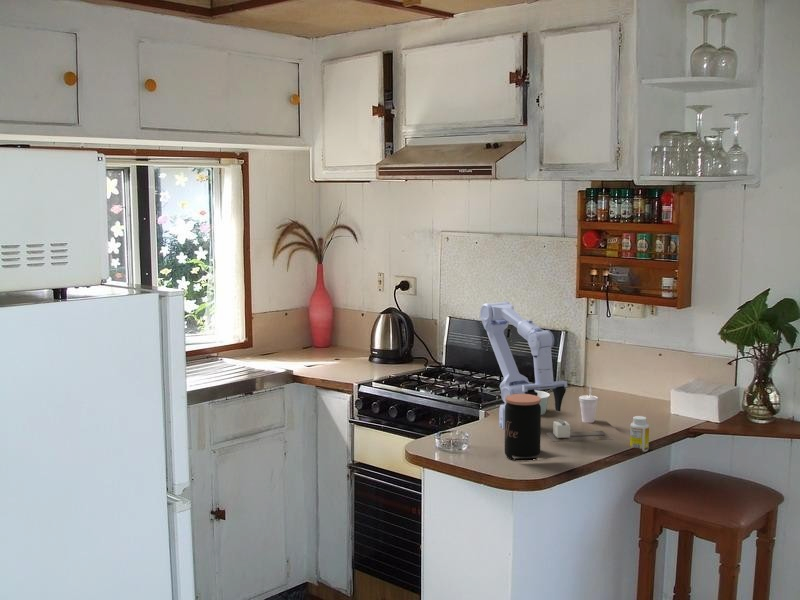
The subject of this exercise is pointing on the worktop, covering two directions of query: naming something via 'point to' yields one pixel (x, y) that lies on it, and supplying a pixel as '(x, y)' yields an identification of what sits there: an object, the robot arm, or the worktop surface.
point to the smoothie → (588, 407)
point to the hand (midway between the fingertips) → (546, 412)
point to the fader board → (581, 436)
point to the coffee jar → (522, 426)
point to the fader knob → (561, 429)
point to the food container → (543, 400)
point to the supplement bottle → (639, 433)
